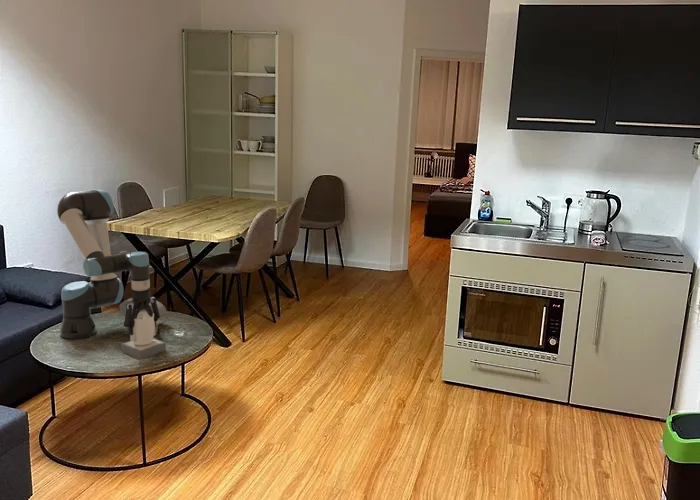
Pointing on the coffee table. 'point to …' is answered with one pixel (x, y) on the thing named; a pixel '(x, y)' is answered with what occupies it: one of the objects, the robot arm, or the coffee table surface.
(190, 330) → the coffee table surface
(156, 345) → the pedestal
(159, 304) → the alarm clock
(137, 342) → the candle holder
